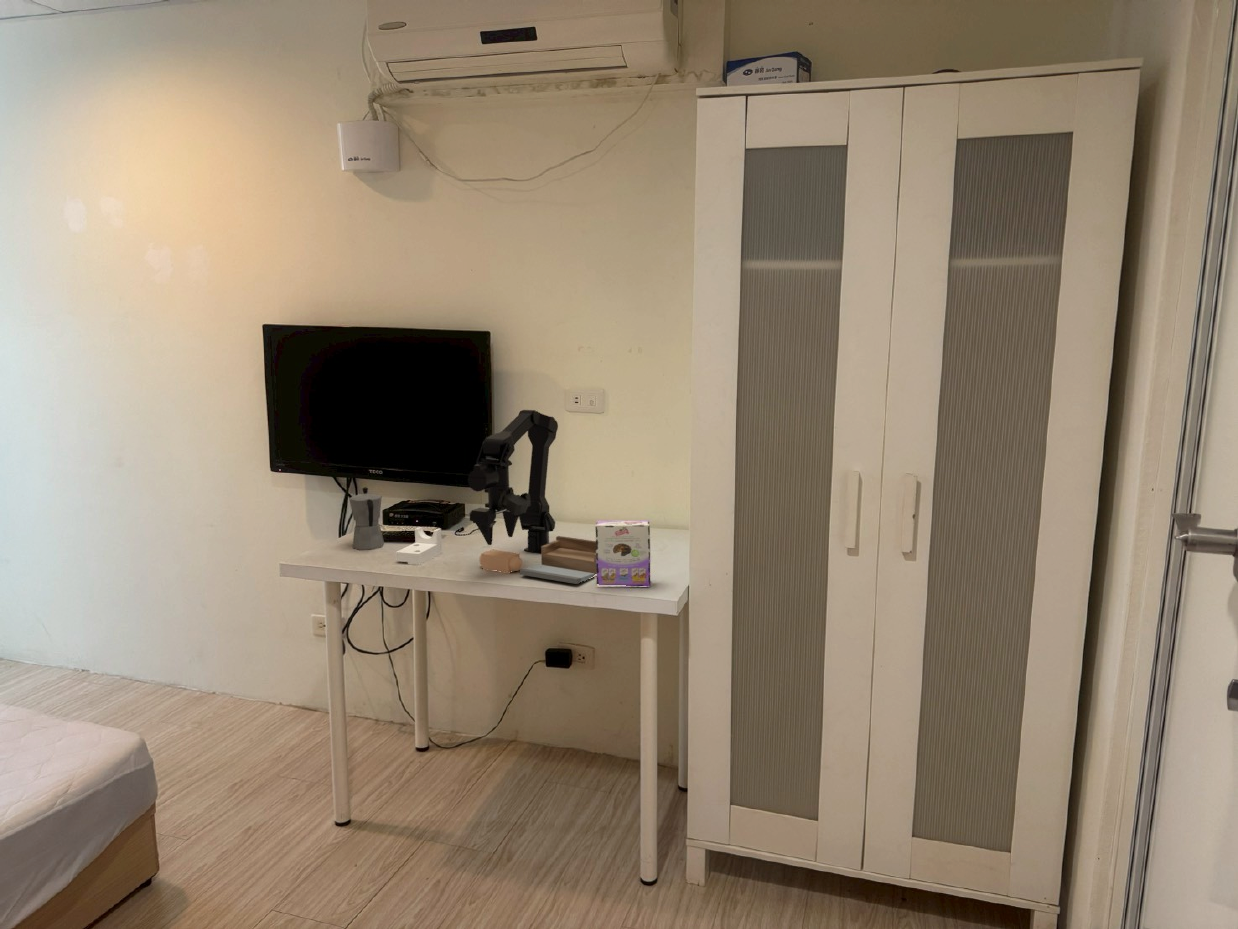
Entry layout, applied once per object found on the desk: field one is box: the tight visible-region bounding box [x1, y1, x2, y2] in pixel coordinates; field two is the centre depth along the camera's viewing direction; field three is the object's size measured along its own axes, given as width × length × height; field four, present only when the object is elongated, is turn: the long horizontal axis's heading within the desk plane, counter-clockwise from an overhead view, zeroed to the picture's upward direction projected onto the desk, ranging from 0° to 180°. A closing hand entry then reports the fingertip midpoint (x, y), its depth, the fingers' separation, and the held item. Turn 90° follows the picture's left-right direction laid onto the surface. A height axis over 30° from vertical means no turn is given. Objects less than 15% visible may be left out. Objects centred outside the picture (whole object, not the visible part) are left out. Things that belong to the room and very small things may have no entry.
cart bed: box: [540, 535, 596, 574], centre depth 239 cm, size 8×18×7 cm, turn 61°
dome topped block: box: [478, 549, 523, 574], centre depth 239 cm, size 5×13×4 cm, turn 61°
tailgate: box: [519, 564, 595, 585], centre depth 231 cm, size 1×18×9 cm
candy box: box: [594, 519, 651, 587], centre depth 224 cm, size 14×6×16 cm, turn 88°
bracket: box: [395, 526, 443, 566], centre depth 250 cm, size 13×7×8 cm, turn 162°
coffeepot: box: [349, 486, 385, 551], centre depth 261 cm, size 15×9×18 cm, turn 26°
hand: (500, 540), depth 238 cm, fingers open, 9 cm apart
